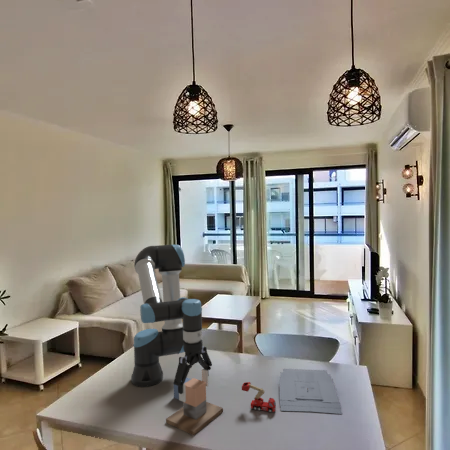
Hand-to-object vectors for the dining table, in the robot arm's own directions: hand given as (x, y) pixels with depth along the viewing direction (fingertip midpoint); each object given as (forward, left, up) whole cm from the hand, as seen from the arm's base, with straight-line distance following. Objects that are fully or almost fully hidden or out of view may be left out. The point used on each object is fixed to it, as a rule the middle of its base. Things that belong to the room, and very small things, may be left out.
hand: (194, 392), depth 138 cm
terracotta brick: (0, 0, -3) cm, 3 cm away
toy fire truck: (+18, +19, -10) cm, 28 cm away
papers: (+30, +40, -10) cm, 51 cm away
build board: (0, 0, -10) cm, 10 cm away
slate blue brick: (-14, +9, -10) cm, 19 cm away
